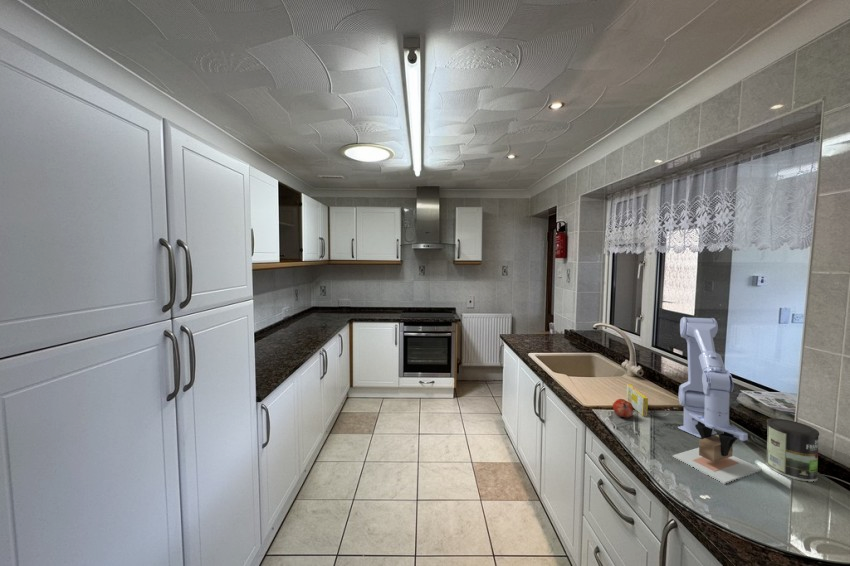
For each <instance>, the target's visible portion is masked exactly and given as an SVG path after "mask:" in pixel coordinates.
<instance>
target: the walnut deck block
mask: <svg viewBox="0 0 850 566" xmlns="http://www.w3.org/2000/svg"><path fill="white" fill-rule="evenodd" d="M698 441H699V442H698V445H699V446H698V448H699V455H700V456H702V457H704V458H706V459H708V460H710V461H712V462H716V461H719V460H722V459H726V458H729V457H732V455H733V451H734V450H733V448H734V447H733V445H734V444H733V445H732V446H731V448H730V450H729V453H728V455H727V456H722V455H721V442H720V438H719V434H714V435H711V437H708V438H704V439H702V438H700V439H699V440H698Z"/></svg>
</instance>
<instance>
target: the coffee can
mask: <svg viewBox="0 0 850 566" xmlns="http://www.w3.org/2000/svg"><path fill="white" fill-rule="evenodd" d="M766 424H767V428H766V429H767V434H766V435H767V437H766V438H767V439H766V441H767V442H766V466H767V467H769V469H770V470H772V471H774V472H776V473H778V474H780V475H782V476H784V477H786V478H790V479H793V480H797V481H801V482H806V481H808V482H807V483H813V481H814V482H817V481H818V468H819V467H818V465H819V464H818V462H819V436H820V432H819V431H818V430H817V429H816V428H814V427H812V426H810V425H807V424H805V423H801V422H799V421H798V422H797V421H795V420H790V419H784V418H774V417H773V418H768V419H766Z"/></svg>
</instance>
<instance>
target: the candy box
mask: <svg viewBox="0 0 850 566" xmlns="http://www.w3.org/2000/svg"><path fill="white" fill-rule="evenodd" d="M625 400H626V401H627V402H629V403H631V404H632V406H633V410H635V411H636V412H637V411H638V413H639V414H640V415H641V416H642V417H643V416H644V417H645V418H647V417H648V408H649V398H648V397H647V396H646V395H645V394H643V393H642V392H640V391H639V390H638V389H637V388H636V387H635V386H633V384H630V383H629V384H626V399H625ZM644 417H643V418H644Z"/></svg>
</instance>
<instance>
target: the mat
mask: <svg viewBox="0 0 850 566" xmlns="http://www.w3.org/2000/svg"><path fill="white" fill-rule="evenodd" d="M673 457H674V459H675V458H676V460H677V459H678V460H677V461H679V460H680V461H679V462H681V461H682V462H681V463H683V462H684V463H683V464H685V463H686V464H685V465H687V464H688V465H687V466H689V465H690V466H691V468H692V467H694V468H695V469H694V468H693V469H694V470H696V469H697V470H696V471H698V470H699V471H698V472H699V473H702V474H704V475H706V476H707V475H709V476H710V477H709V476H708V477H709V478H711V477H712V478H711V479H713V478H714V480H715V479H716V480H715V481H717V480H718V481H717V482H719V481H720V482H719V483H721V484H723V485H726V483H727V484H729V482H730V483H732V482H735V481H737V480H736V479H738V480H741V479H743V478H745V477H744V476H746V477H748V476H751V475H754V474H756V473H755V472H757V473H759V472H762V471H761V470H763V468H761V467H760V466H757V465H755V464H753V463H750V462H748V461H745V460H744V459H741V458H739V457H737V456H736V455H735V456H734V455H733V454H732V457H729V458H726V459H722V460H719V461H716V462H712V461H710V460H708V459H706V458H704V457H702V456H700V455H699V447H696V448H692V449H689V450H685V451H683V452H679V453H675V454H672V458H673ZM690 466H689V467H690ZM758 471H759V472H758ZM753 473H754V474H753ZM750 474H751V475H750ZM747 475H748V476H747ZM742 477H743V478H742ZM734 480H735V481H734ZM731 481H732V482H731Z"/></svg>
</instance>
